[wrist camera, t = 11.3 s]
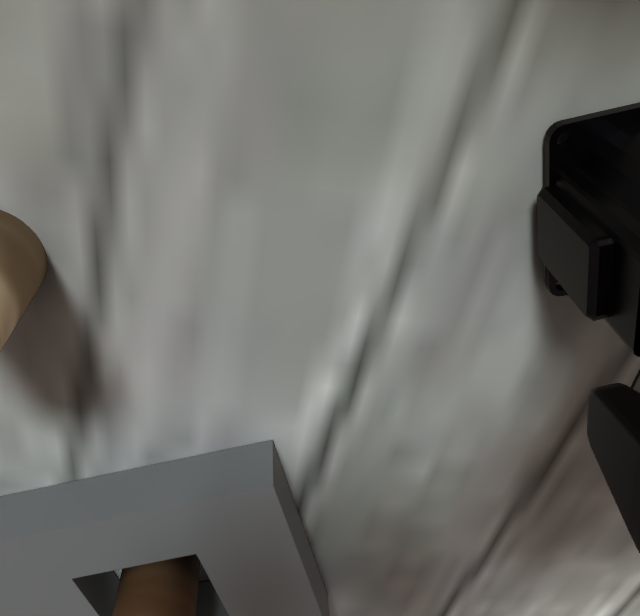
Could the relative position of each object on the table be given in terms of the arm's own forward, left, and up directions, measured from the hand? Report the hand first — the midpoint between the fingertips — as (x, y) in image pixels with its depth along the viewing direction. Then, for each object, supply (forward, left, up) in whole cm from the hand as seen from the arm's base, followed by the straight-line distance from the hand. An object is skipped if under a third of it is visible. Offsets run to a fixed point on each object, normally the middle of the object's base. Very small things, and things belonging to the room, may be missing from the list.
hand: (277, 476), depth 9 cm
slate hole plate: (+10, +18, -13) cm, 24 cm away
